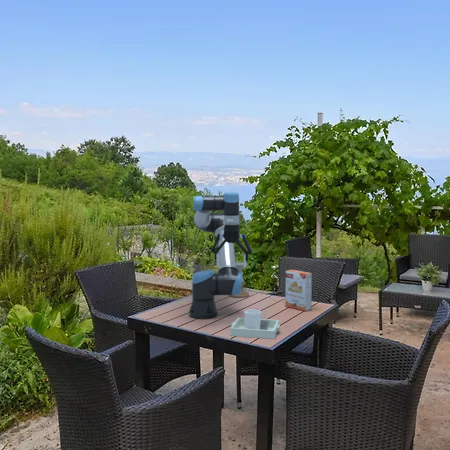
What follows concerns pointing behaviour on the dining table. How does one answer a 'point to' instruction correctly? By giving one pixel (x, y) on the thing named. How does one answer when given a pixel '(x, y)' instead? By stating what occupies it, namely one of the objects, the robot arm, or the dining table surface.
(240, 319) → the tray
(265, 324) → the block
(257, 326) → the white cup
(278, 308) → the dining table surface
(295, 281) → the cracker box
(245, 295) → the candle holder
